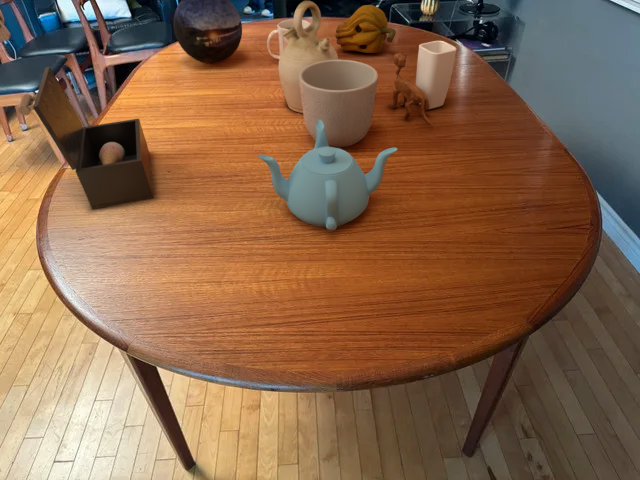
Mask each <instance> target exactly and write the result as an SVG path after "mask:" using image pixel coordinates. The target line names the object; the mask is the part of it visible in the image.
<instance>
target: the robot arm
mask: <svg viewBox="0 0 640 480" xmlns="http://www.w3.org/2000/svg"><path fill="white" fill-rule="evenodd" d="M10 38H11V32H10V31H9V30H8V28H7V27H6V25H5V17H4V14H3V12H2V10H1V9H0V43H3V42H6V41H9V39H10Z"/></svg>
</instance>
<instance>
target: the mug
mask: <svg viewBox="0 0 640 480" xmlns="http://www.w3.org/2000/svg"><path fill="white" fill-rule="evenodd" d="M302 26H303V29H304V30H307V29H309V28H310V26H311V22H310V21H307V20H305V19H302ZM293 27H294V18H291V19H285V20H282V21H280V22H278V23H277V25H276V29H274V30H272V31H271V32H269V34H268V35H267V39H266V48H267V51H268V54H269V55H270V56H271V58H273V59H275V60H280V56H281V54H282V52H283V50H284V48H285V47H287V45H288V44H289V41H288V39H286V38H285V37H284V36H283V33H284V32H286V31H287V30H289V29H291V28H293ZM275 35H277V41H278V42H277V43H278V52H279V53H278V54H279V55H278V54H275V53H273V51H272V50H271V48H270V43H271V39H272V38H273V37H274V36H275ZM297 35H298V36H299V37H300V35H299V34H298V33H297Z"/></svg>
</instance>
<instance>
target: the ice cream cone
mask: <svg viewBox="0 0 640 480" xmlns="http://www.w3.org/2000/svg"><path fill="white" fill-rule="evenodd" d="M124 158H125V151H124V148H123V147H122V146H121V145H120V144H118V143H116V142H108V143H106V144H104V145H103V147H102V148H101V150H100V153H99V159H100V161H101V163H102V164H103V165H105V164H111V163H117V162H123V161H124Z"/></svg>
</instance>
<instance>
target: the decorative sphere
mask: <svg viewBox="0 0 640 480" xmlns="http://www.w3.org/2000/svg"><path fill="white" fill-rule="evenodd" d="M173 31H174V35H175V38H176V41H177V43H178V45H180V47H181V48H182V50H183V51H184V52H185V53H186V54H187V55H188V56H189V57H191V58H192V59H194V60H196V61H197V62H202V63H205V64H218V63H221V62H224V61H226V60H228V59H229V58H230V57H232V56H233V55H234V54H235V52H236V51H237V49H238V48H239V46H240V44H241V41H242V35H243V24H242V19H241V16H240V14H239V11H238V9H237V8H236V6H235V5H234V4H233V2H231V0H181V1H180V2H179V3H178V4H177V7H176V9H175V11H174V16H173Z"/></svg>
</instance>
